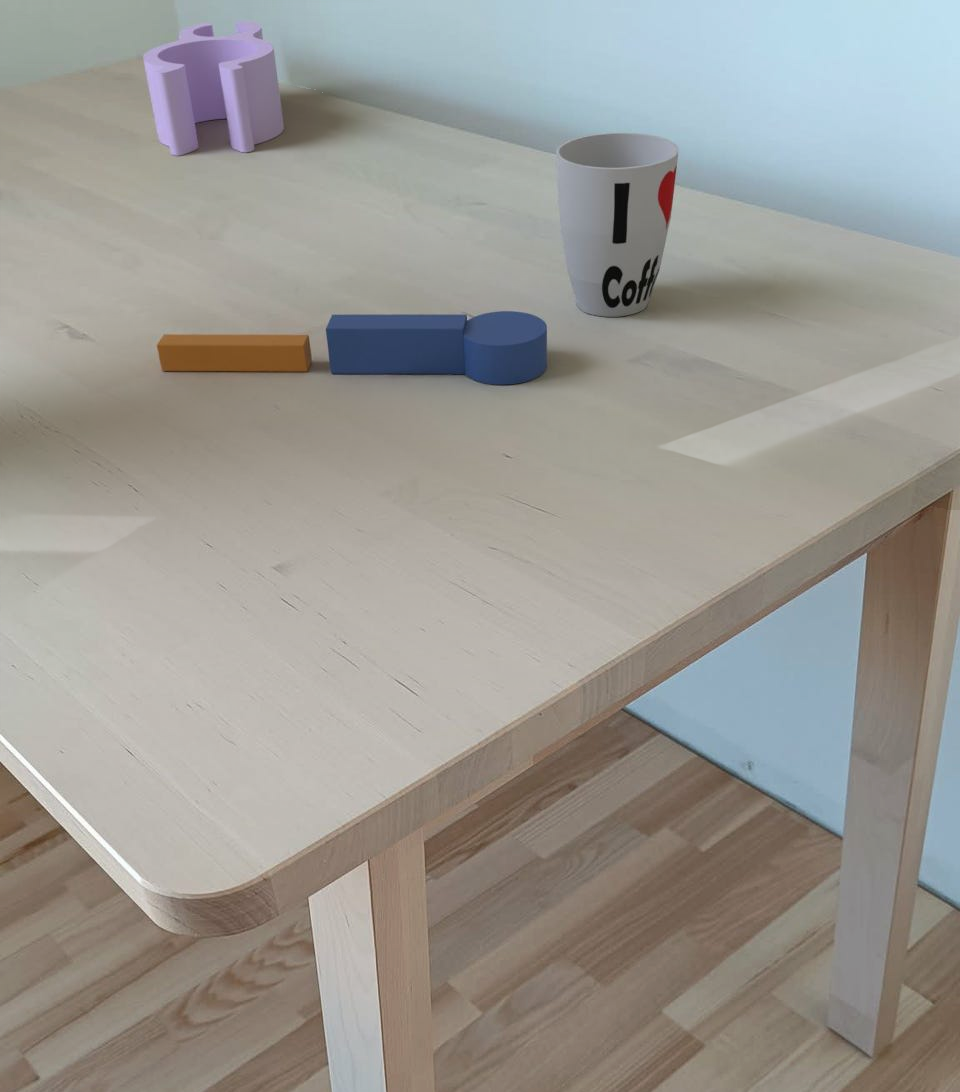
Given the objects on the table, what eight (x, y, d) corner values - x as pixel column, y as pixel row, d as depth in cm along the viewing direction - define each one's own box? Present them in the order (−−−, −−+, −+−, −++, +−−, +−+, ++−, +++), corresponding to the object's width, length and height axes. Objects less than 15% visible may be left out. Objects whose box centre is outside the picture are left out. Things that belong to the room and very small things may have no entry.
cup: (601, 335, 87) (605, 176, 80) (533, 300, 92) (532, 148, 85) (692, 306, 90) (704, 151, 83) (621, 273, 95) (627, 125, 88)
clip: (178, 100, 136) (164, 25, 131) (294, 95, 136) (284, 19, 131) (146, 157, 122) (130, 74, 117) (276, 150, 121) (265, 67, 117)
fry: (161, 371, 86) (156, 344, 84) (168, 360, 87) (163, 333, 86) (307, 372, 85) (303, 345, 84) (312, 360, 86) (308, 334, 85)
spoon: (326, 384, 83) (320, 338, 81) (341, 349, 87) (336, 304, 85) (544, 385, 82) (544, 339, 80) (549, 349, 86) (549, 304, 84)
